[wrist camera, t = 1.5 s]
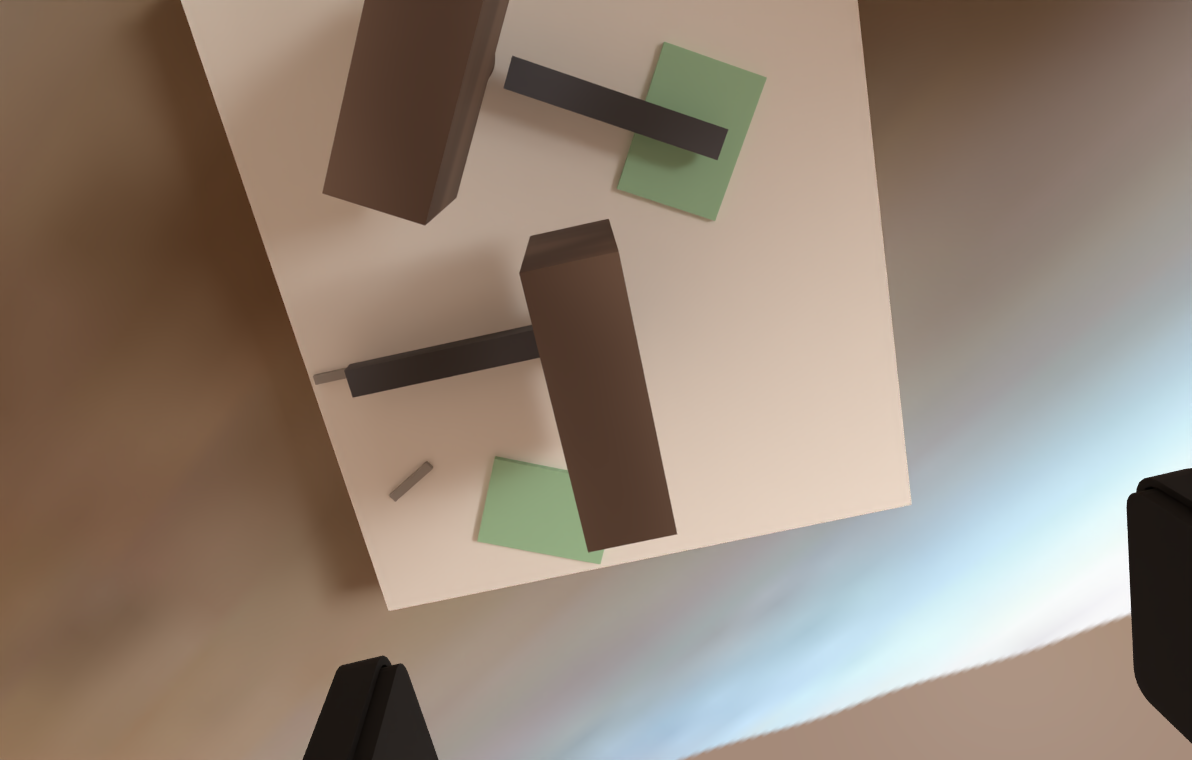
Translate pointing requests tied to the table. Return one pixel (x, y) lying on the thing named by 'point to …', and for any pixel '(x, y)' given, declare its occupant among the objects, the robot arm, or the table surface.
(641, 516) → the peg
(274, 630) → the table surface
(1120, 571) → the table surface
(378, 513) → the board
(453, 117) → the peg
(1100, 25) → the table surface
